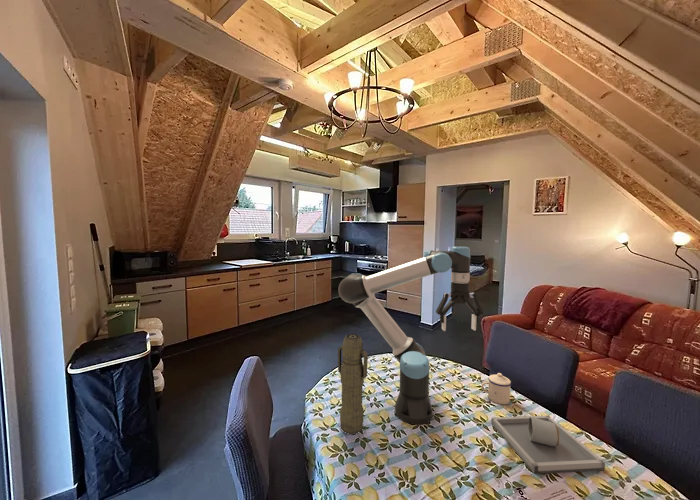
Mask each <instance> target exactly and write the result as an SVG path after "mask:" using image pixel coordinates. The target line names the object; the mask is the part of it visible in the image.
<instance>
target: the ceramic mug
mask: <svg viewBox="0 0 700 500" xmlns="http://www.w3.org/2000/svg"><path fill="white" fill-rule="evenodd" d="M528 434H529V438H530V440H531V441H533V442H537V443H541V444H546V445H549V446H558V445H559V430H558V427H557V426H556V425H555V424H553V423H551V422H548V421H544V420H541V419H538V418H534V417H529V421H528Z"/></svg>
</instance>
